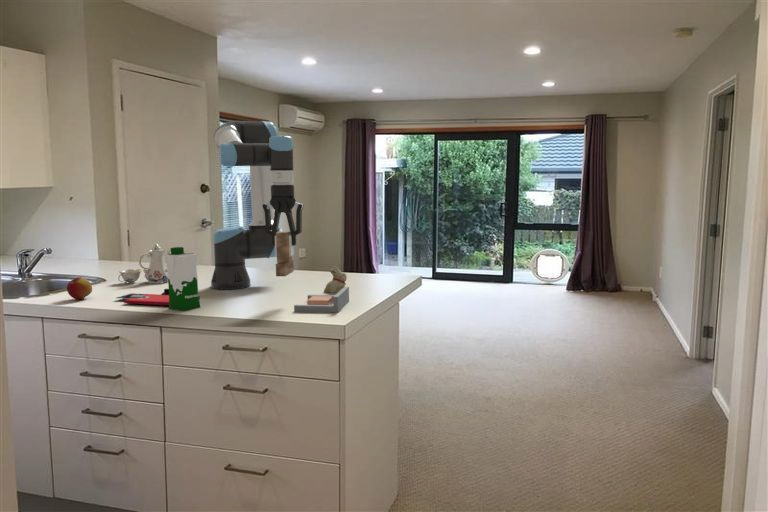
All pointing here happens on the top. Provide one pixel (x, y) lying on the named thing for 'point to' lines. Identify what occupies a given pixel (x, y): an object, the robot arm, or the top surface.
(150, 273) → the chinaware
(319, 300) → the salmon square block
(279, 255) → the stepped wooden beam
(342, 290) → the frame
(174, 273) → the milk carton
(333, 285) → the tan bunny-shaped figure
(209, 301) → the top surface
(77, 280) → the apple
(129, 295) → the red board with handle
